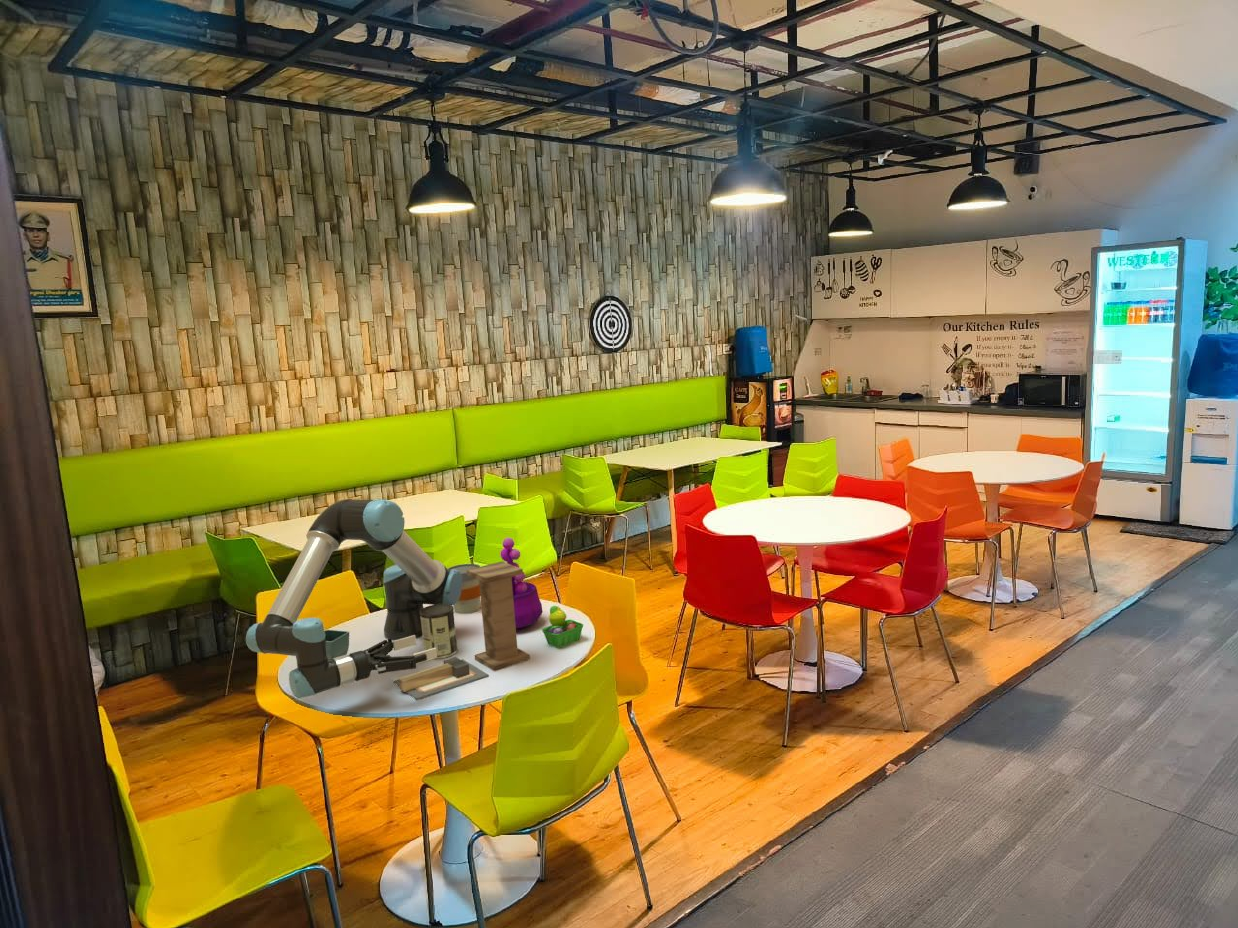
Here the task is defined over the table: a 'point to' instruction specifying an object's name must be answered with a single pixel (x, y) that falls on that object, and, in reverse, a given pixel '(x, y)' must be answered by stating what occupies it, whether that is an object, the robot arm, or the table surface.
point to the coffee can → (439, 629)
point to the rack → (498, 615)
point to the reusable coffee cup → (467, 591)
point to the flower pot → (336, 643)
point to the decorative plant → (521, 590)
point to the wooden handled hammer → (435, 674)
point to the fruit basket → (561, 629)
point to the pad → (446, 683)
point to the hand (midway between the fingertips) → (425, 645)
